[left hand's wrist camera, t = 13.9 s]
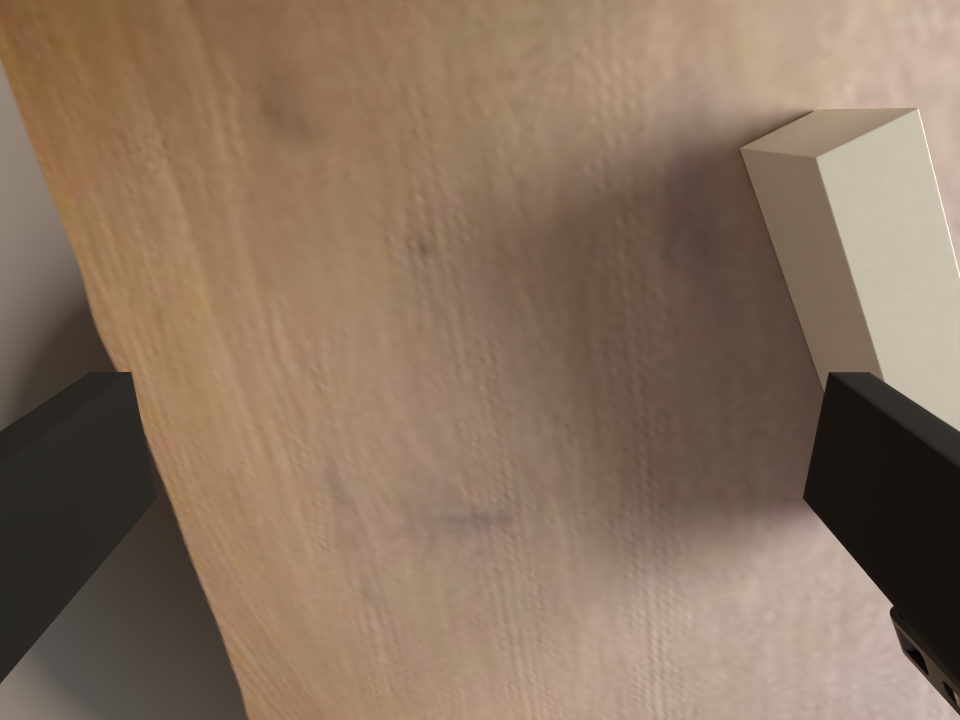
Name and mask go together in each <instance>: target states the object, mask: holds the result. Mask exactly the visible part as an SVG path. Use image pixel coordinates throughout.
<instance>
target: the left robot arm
mask: <svg viewBox="0 0 960 720" xmlns="http://www.w3.org/2000/svg"><path fill="white" fill-rule="evenodd" d="M156 499H157V496H156V491H155V486H154V481H153V476H152V471H151V467H150V461H149V457H148V452H147V447H146V442H145V437H144V432H143V427H142V422H141V417H140V412H139V407H138V402H137V397H136V393H135V388H134V383H133V378H132V373H131V372H90V373H89V374H87V375H86V376H84V377H82V378H81V379H79V380H78V381H76V382H75V383H73V384H72V385H70V386H69V387H67V388H66V389H64V390H63V391H61V392H60V393H58V394H57V395H55V396H54V397H52V398H51V399H49V400H48V401H46V402H44V403H43V404H41V405H40V406H38V407H37V408H35V409H34V410H32V411H31V412H29V413H28V414H26V415H25V416H23V417H22V418H20V419H19V420H17V421H16V422H14V423H12V424H11V425H9V426H8V427H7V428H5V429H3V430H2V431H0V683H1V682H2V681H3V680H4V679H5V677H6V676H7V675H8V674H9V673H10V671H11V670H12V669H13V668H14V667H15V666H16V664H17V663H18V662H19V661H20V660H21V658H22V657H23V656H24V655H25V654H26V653H27V651H28V650H29V649H30V648H31V647H32V646H33V644H34V643H35V642H36V641H37V640H38V638H39V637H40V636H41V635H42V634H43V633H44V631H45V630H46V629H47V628H48V627H49V625H50V624H51V623H52V622H53V621H54V619H55V618H56V617H57V616H58V615H59V614H60V612H61V611H62V610H63V609H64V608H65V606H66V605H67V604H68V603H69V602H70V600H71V599H72V598H73V597H74V596H75V595H76V593H77V592H78V591H79V590H80V589H81V588H82V586H83V585H84V584H85V583H86V582H87V580H88V579H89V578H90V577H91V576H92V575H93V573H94V572H95V571H96V570H97V569H98V567H99V566H100V565H101V564H102V563H103V562H104V560H105V559H106V558H107V557H108V556H109V554H110V553H111V552H112V551H113V550H114V548H115V547H116V546H117V545H118V544H119V543H120V541H121V540H122V539H123V538H124V537H125V535H126V534H127V533H128V532H129V531H130V530H131V528H132V527H133V526H134V525H135V524H136V522H137V521H138V520H139V519H140V518H141V517H142V515H143V514H144V513H145V512H146V511H147V509H148V508H149V507H150V506H151V505H152V503H153V502H154V501H155V500H156ZM803 499H804V500H805V501H806V502H807V504H808V505H809V506H810V507H811V508H812V509H813V511H814V512H815V513H816V514H817V515H818V517H819V518H820V519H821V520H822V521H823V522H824V524H825V525H826V526H827V527H828V528H829V530H830V531H831V532H832V533H833V534H834V535H835V537H836V538H837V539H838V540H839V541H840V543H841V544H842V545H843V546H844V547H845V548H846V550H847V551H848V552H849V553H850V554H851V556H852V557H853V558H854V559H855V560H856V562H857V563H858V564H859V565H860V566H861V567H862V569H863V570H864V571H865V572H866V573H867V575H868V576H869V577H870V578H871V579H872V580H873V582H874V583H875V584H876V585H877V586H878V588H879V589H880V590H881V591H882V592H883V593H884V595H885V596H886V597H887V598H888V599H889V601H890V602H891V603H892V604H893V605H894V606H895V608H896V609H897V610H898V611H899V612H900V614H901V615H902V616H903V617H904V618H905V620H906V621H907V622H908V623H909V624H910V625H911V627H912V628H913V629H914V630H915V631H916V633H917V634H918V635H919V636H920V637H921V638H922V640H923V641H924V642H925V643H926V644H927V646H928V647H929V648H930V649H931V650H932V651H933V653H934V654H935V655H936V656H937V657H938V659H939V660H940V661H941V662H942V663H943V664H944V666H945V667H946V668H947V669H948V670H949V672H950V673H951V674H952V675H953V676H954V677H955V679H956V680H957V681H958V682H959V683H960V431H958V430H957V429H955V428H954V427H952V426H951V425H949V424H948V423H946V422H944V421H943V420H941V419H940V418H938V417H937V416H935V415H934V414H932V413H931V412H929V411H928V410H926V409H925V408H923V407H922V406H920V405H919V404H917V403H916V402H914V401H913V400H911V399H910V398H908V397H906V396H905V395H903V394H902V393H900V392H899V391H897V390H896V389H894V388H893V387H891V386H890V385H888V384H887V383H885V382H884V381H882V380H881V379H879V378H878V377H876V376H875V375H873V374H872V373H870V372H829V373H828V378H827V383H826V388H825V393H824V397H823V402H822V407H821V412H820V417H819V422H818V427H817V432H816V437H815V442H814V447H813V452H812V457H811V461H810V466H809V471H808V476H807V481H806V486H805V491H804V496H803Z"/></svg>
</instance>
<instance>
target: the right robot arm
mask: <svg viewBox="0 0 960 720" xmlns="http://www.w3.org/2000/svg"><path fill="white" fill-rule="evenodd" d="M890 616H891V619H892V622H893V625H894V628H895V630H896V633H897V636H898V639H899V642H900V645H901V648H902V651H903V653H904V654H905V655H906V656H907V658H908V659H909V660H910V661H911V662H912V663H913V664H914V665H915V666H916V668H917V669H918V670H919V671H920V672H921V673H922V674H923V675H924V676H925V678H926V679H927V680H928V681H929V682H930V683H931V684H932V685H933V686H934V687H935V689H936V690H937V691H938V692H939V693H940V694H941V695H942V696H943V697H944V699H945V700H946V701H947V702H948V703H949V704H950V705H951V706H952V707H953V708H954V710H955V711H956V712H957V713H958V714H959V715H960V683H959V682H958V681H957V680H956V679H955V677H954V676H953V675H952V674H951V673H950V672H949V670H948V669H947V668H946V667H945V666H944V664H943V663H942V662H941V661H940V660H939V659H938V657H937V656H936V655H935V654H934V653H933V651H932V650H931V649H930V648H929V647H928V646H927V644H926V643H925V642H924V641H923V640H922V638H921V637H920V636H919V635H918V634H917V633H916V631H915V630H914V629H913V628H912V627H911V625H910V624H909V623H908V622H907V621H906V620H905V618H904V617H903V616H902V615H901V614H900V612H899V611H898V610H897V609H896V608H895V606H893V607H892V608H891V610H890Z"/></svg>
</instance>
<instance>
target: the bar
mask: <svg viewBox="0 0 960 720" xmlns="http://www.w3.org/2000/svg"><path fill="white" fill-rule="evenodd" d="M740 150H741V153H742V156H743V159H744V162H745V165H746V168H747V171H748V174H749V177H750V179H751V182H752V185H753V188H754V191H755V194H756V197H757V200H758V203H759V206H760V208H761V211H762V214H763V217H764V220H765V223H766V226H767V229H768V232H769V234H770V237H771V240H772V243H773V246H774V249H775V252H776V255H777V258H778V261H779V263H780V266H781V269H782V272H783V275H784V278H785V281H786V284H787V287H788V290H789V292H790V295H791V298H792V301H793V304H794V307H795V310H796V313H797V316H798V319H799V321H800V324H801V327H802V330H803V333H804V336H805V339H806V342H807V345H808V348H809V350H810V353H811V356H812V359H813V362H814V365H815V368H816V371H817V374H818V376H819V379H820V382H821V385H822V388H823V391H824V393H825V388H826V383H827V378H828V373H829V372H870V373H872V374H873V375H875V376H876V377H878V378H879V379H881V380H882V381H884V382H885V383H887V384H888V385H890V386H891V387H893V388H894V389H896V390H897V391H899V392H900V393H902V394H903V395H905V396H906V397H908V398H910V399H911V400H913V401H914V402H916V403H917V404H919V405H920V406H922V407H923V408H925V409H926V410H928V411H929V412H931V413H932V414H934V415H935V416H937V417H938V418H940V419H941V420H943V421H944V422H946V423H948V424H949V425H951V426H952V427H954V428H955V429H957V430H958V431H960V274H959V270H958V266H957V262H956V258H955V254H954V250H953V246H952V242H951V238H950V234H949V230H948V226H947V222H946V218H945V214H944V210H943V206H942V202H941V198H940V194H939V190H938V186H937V181H936V177H935V173H934V169H933V165H932V161H931V157H930V153H929V149H928V145H927V141H926V137H925V133H924V129H923V125H922V121H921V117H920V113H919V109H918V108H886V109H822V110H816V111H814V112H812V113H810V114H808V115H806V116H804V117H802V118H800V119H797V120H795V121H793V122H791V123H789V124H787V125H785V126H783V127H781V128H779V129H777V130H775V131H773V132H771V133H769V134H767V135H765V136H763V137H761V138H759V139H757V140H755V141H753V142H751V143H749V144H747V145H745V146H743V147H741V148H740Z"/></svg>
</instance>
